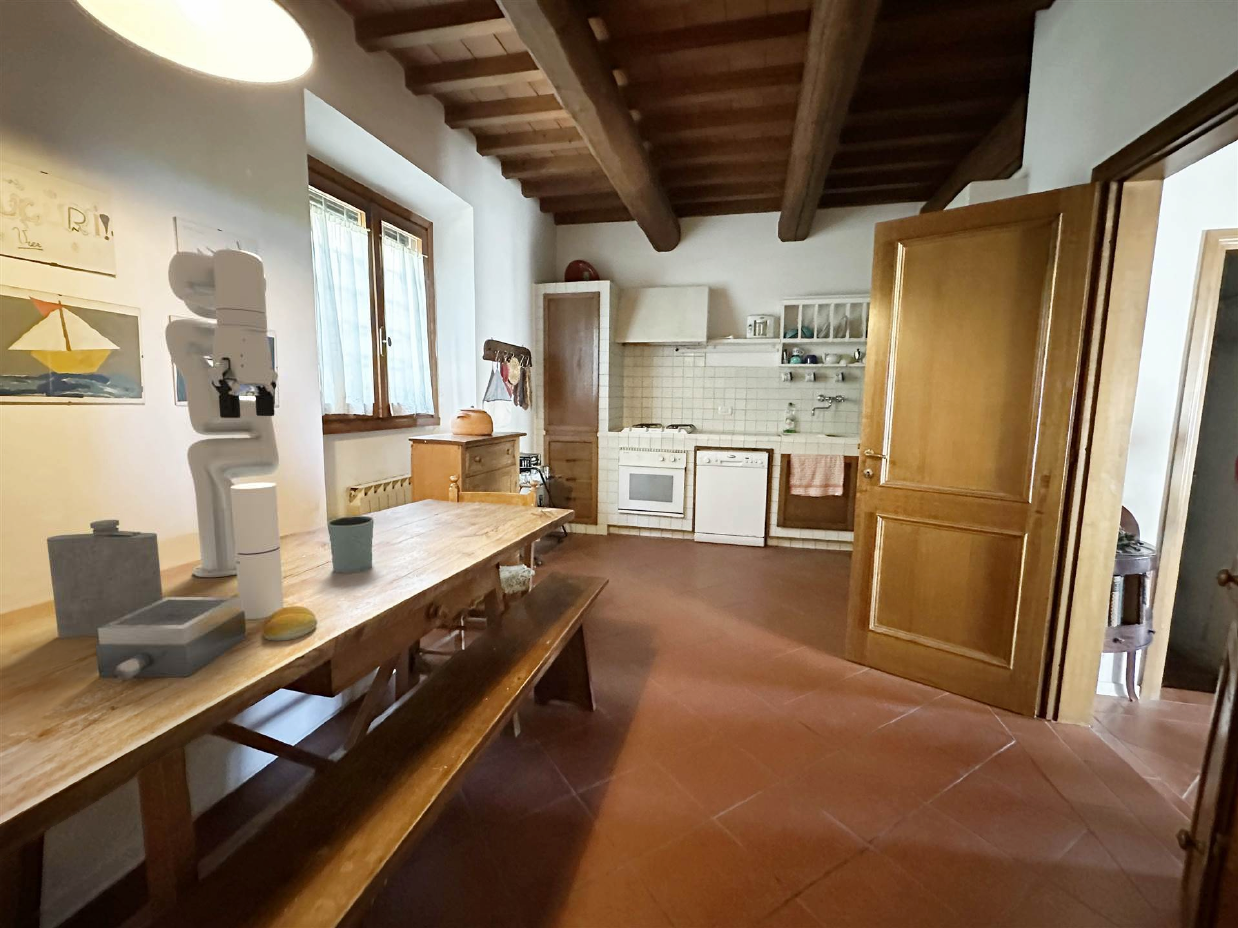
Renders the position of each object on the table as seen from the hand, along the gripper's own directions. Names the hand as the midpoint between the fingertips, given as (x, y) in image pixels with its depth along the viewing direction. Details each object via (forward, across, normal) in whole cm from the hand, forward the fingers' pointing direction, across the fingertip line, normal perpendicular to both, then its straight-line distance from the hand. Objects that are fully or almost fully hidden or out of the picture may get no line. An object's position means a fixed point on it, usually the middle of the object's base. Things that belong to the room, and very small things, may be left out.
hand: (248, 416), depth 99 cm
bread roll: (+38, +8, +10) cm, 40 cm away
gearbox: (+38, +19, -2) cm, 43 cm away
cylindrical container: (+38, 0, 0) cm, 38 cm away
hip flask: (+38, +9, -20) cm, 44 cm away
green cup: (+38, -27, +5) cm, 47 cm away
